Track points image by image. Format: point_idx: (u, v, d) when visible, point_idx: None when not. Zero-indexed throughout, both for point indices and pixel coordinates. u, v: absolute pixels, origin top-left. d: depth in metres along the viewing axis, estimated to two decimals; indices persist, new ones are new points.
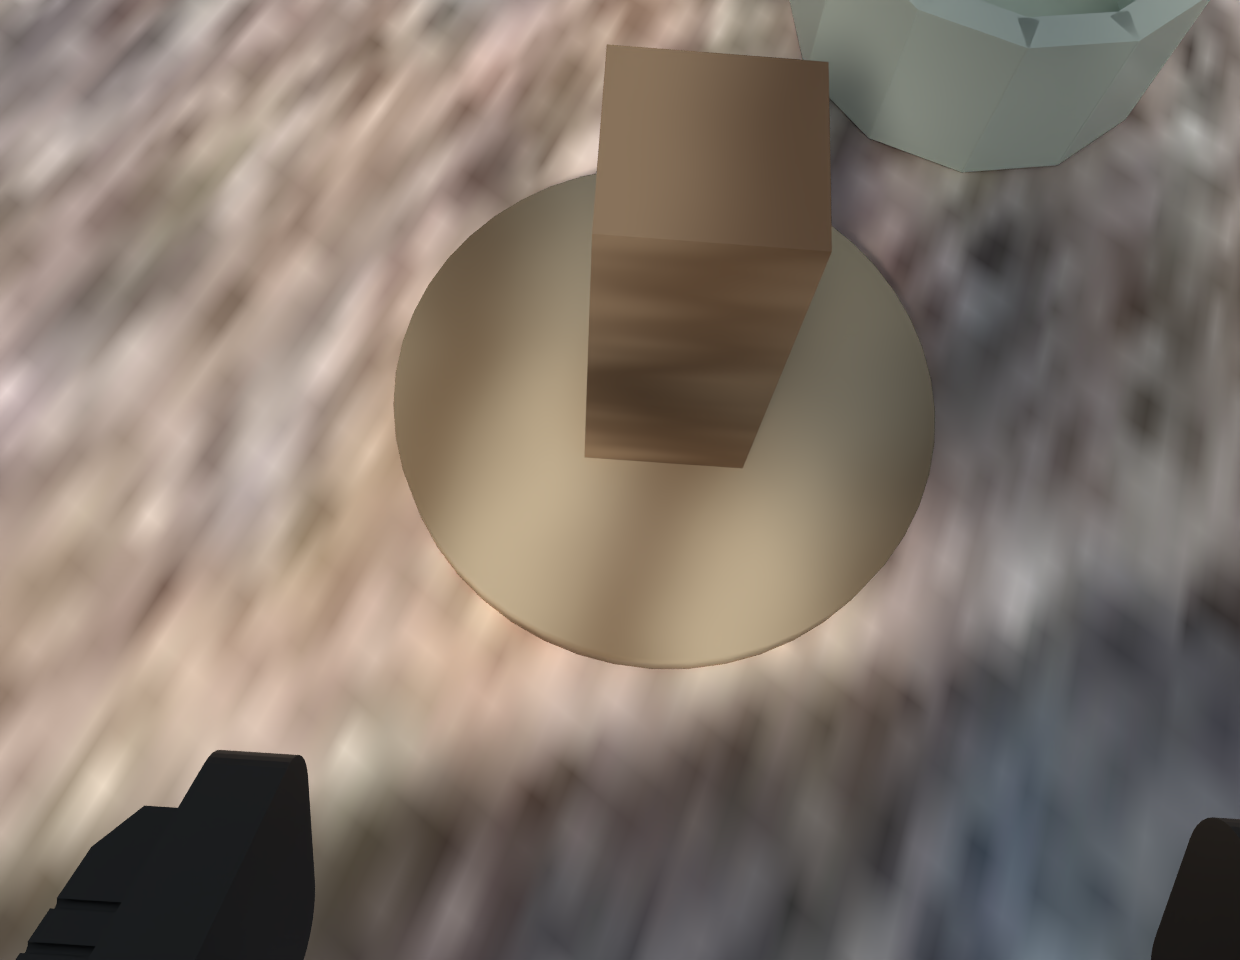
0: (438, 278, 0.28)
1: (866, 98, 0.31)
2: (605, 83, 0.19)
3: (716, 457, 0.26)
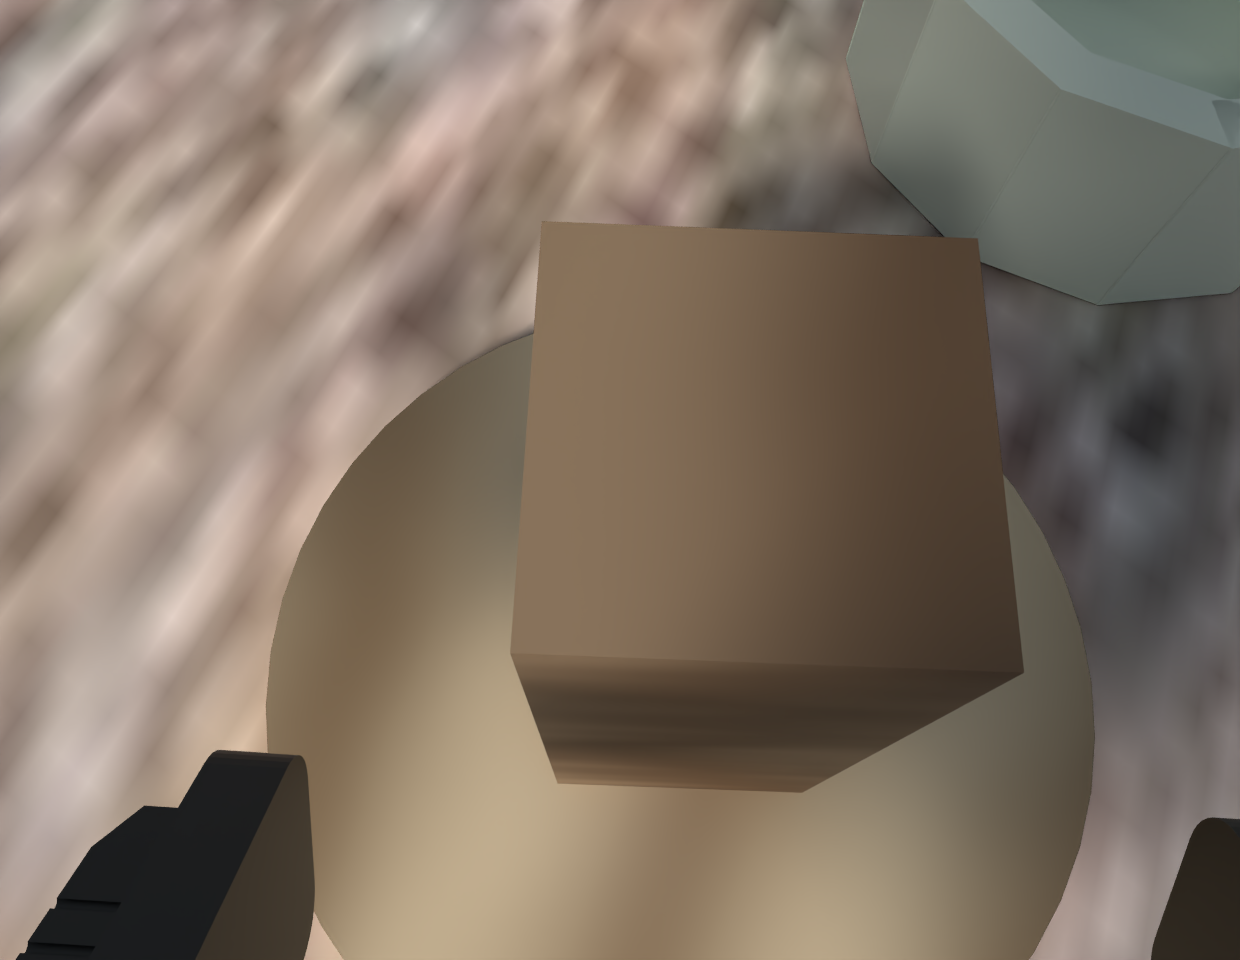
0: (337, 495, 0.19)
1: (963, 204, 0.22)
2: (538, 304, 0.09)
3: (762, 787, 0.17)
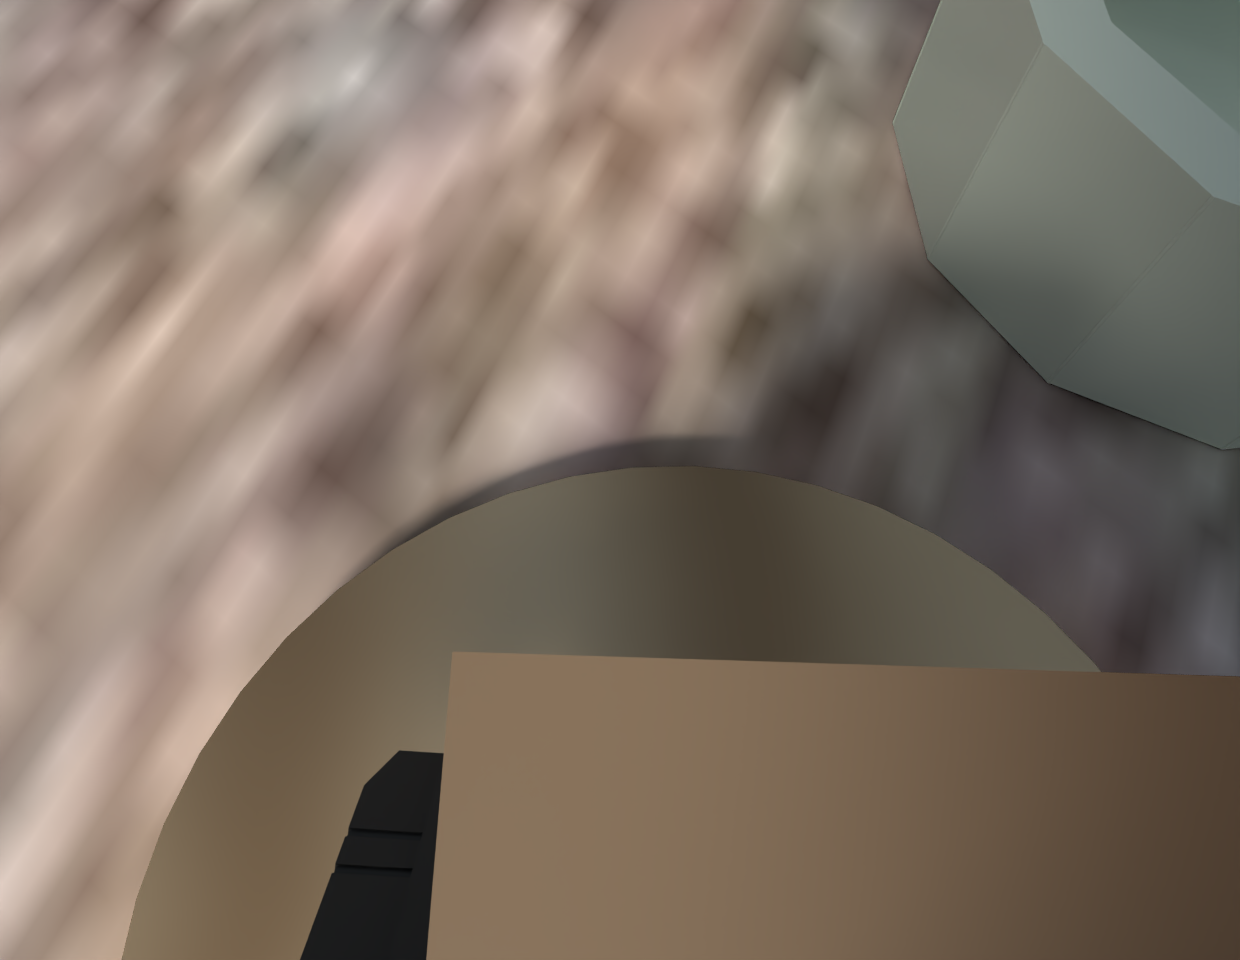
0: (218, 739, 0.14)
1: (1053, 323, 0.17)
2: (441, 866, 0.04)
3: None
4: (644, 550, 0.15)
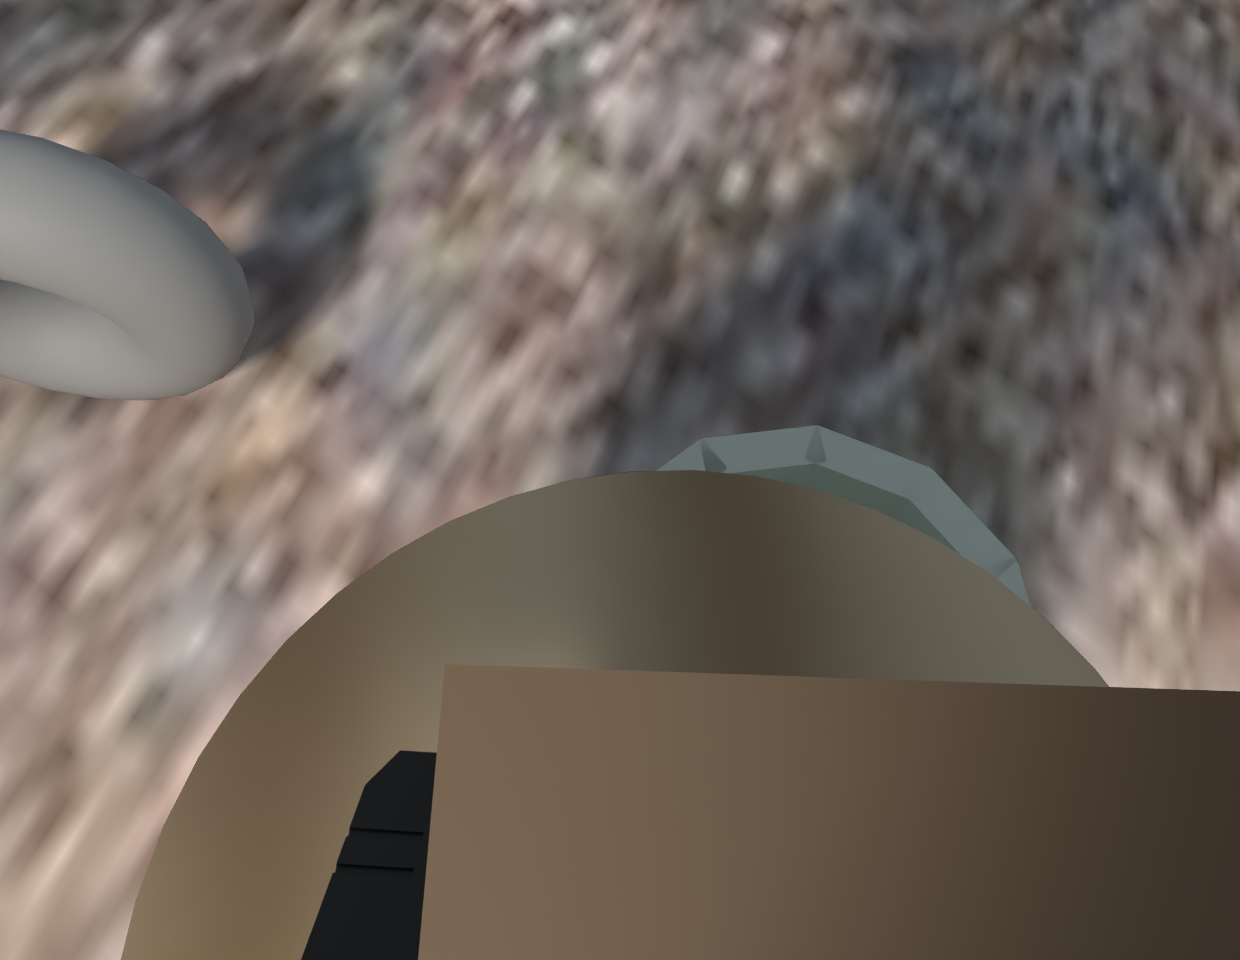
0: (218, 742, 0.14)
1: None
2: (432, 881, 0.04)
3: None
4: (644, 554, 0.15)
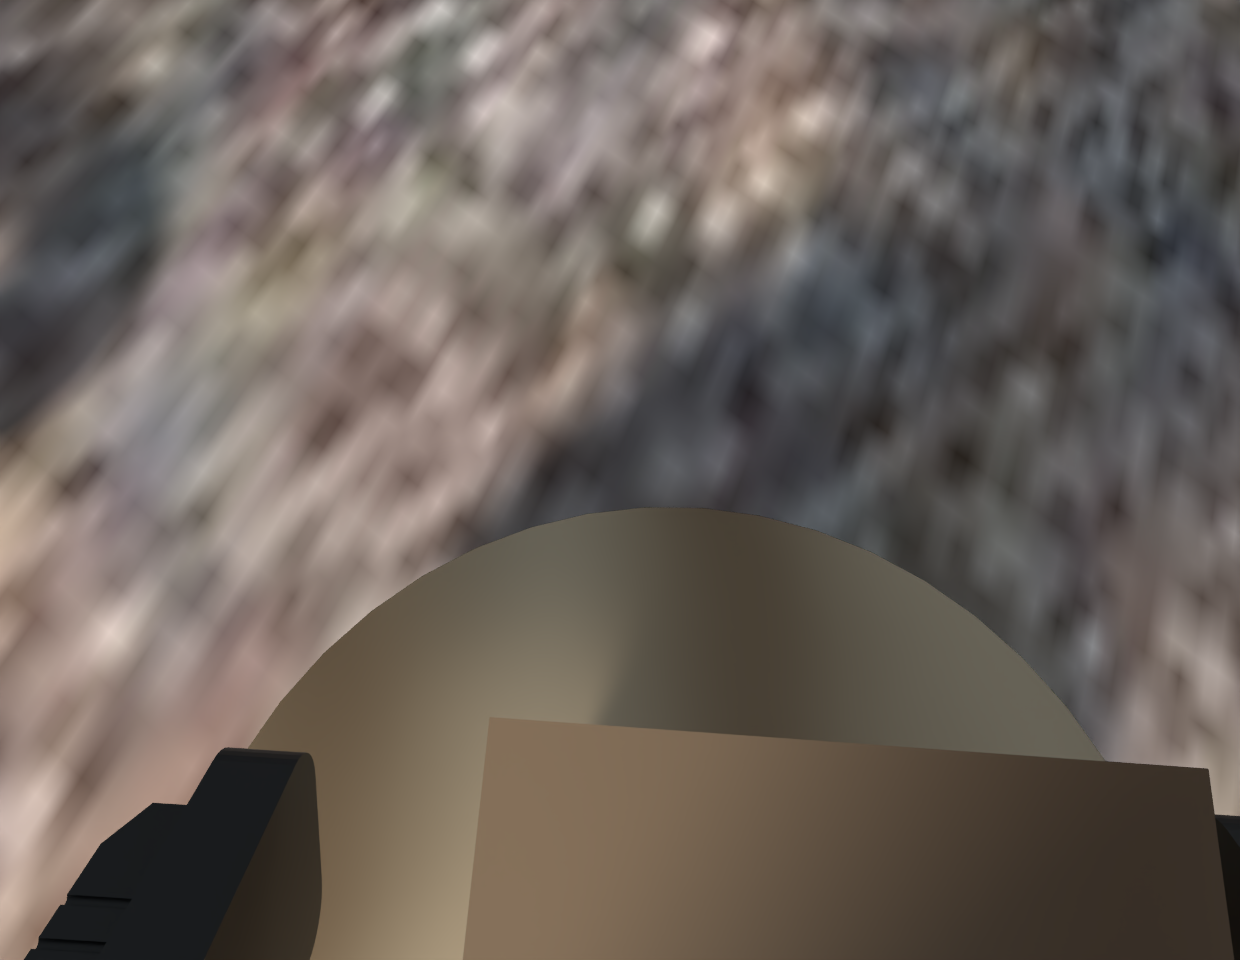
0: (259, 744, 0.15)
1: None
2: (476, 885, 0.06)
3: None
4: (653, 585, 0.16)
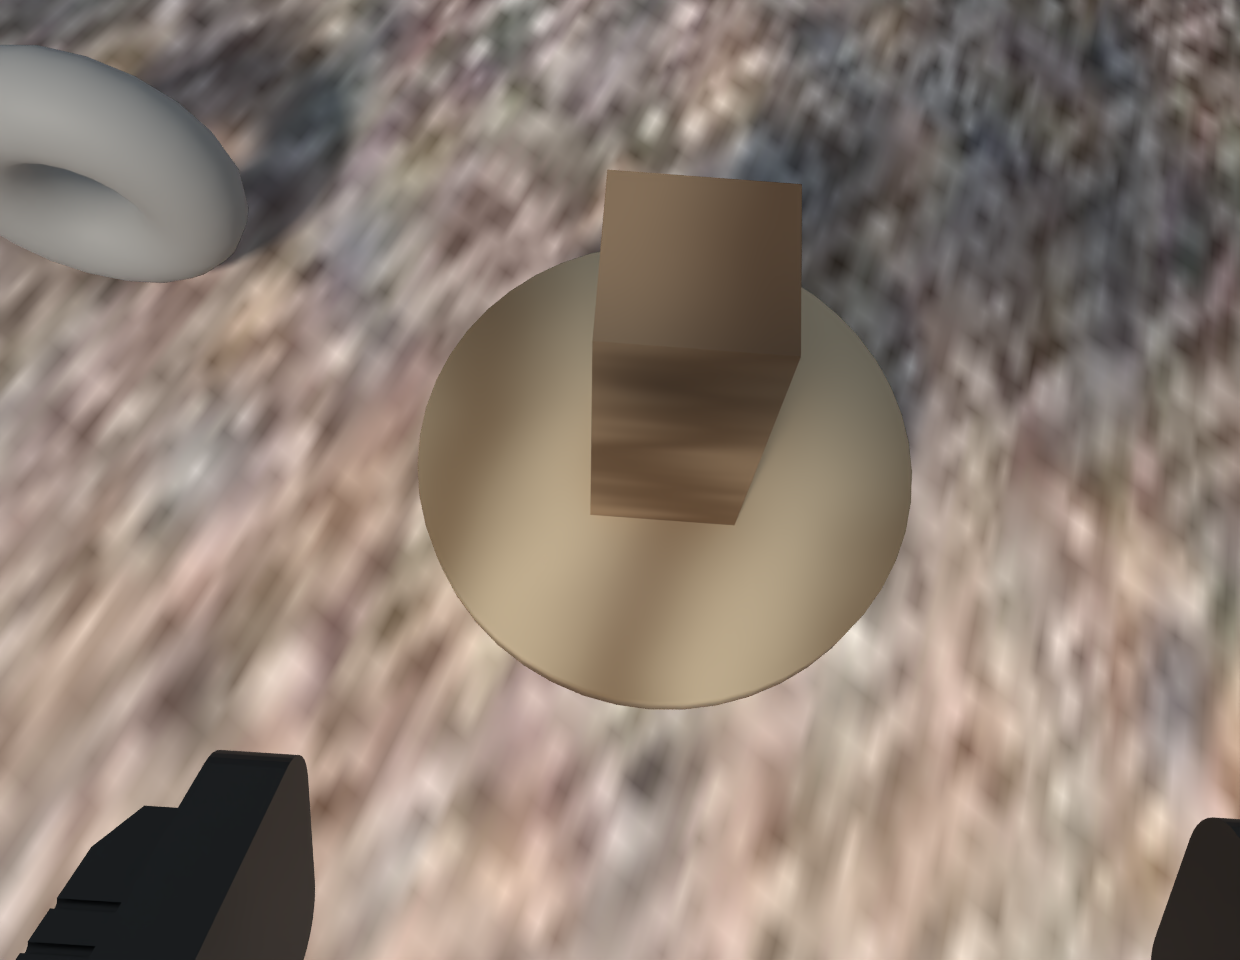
0: (458, 348, 0.31)
1: None
2: (605, 205, 0.21)
3: (710, 516, 0.29)
4: None
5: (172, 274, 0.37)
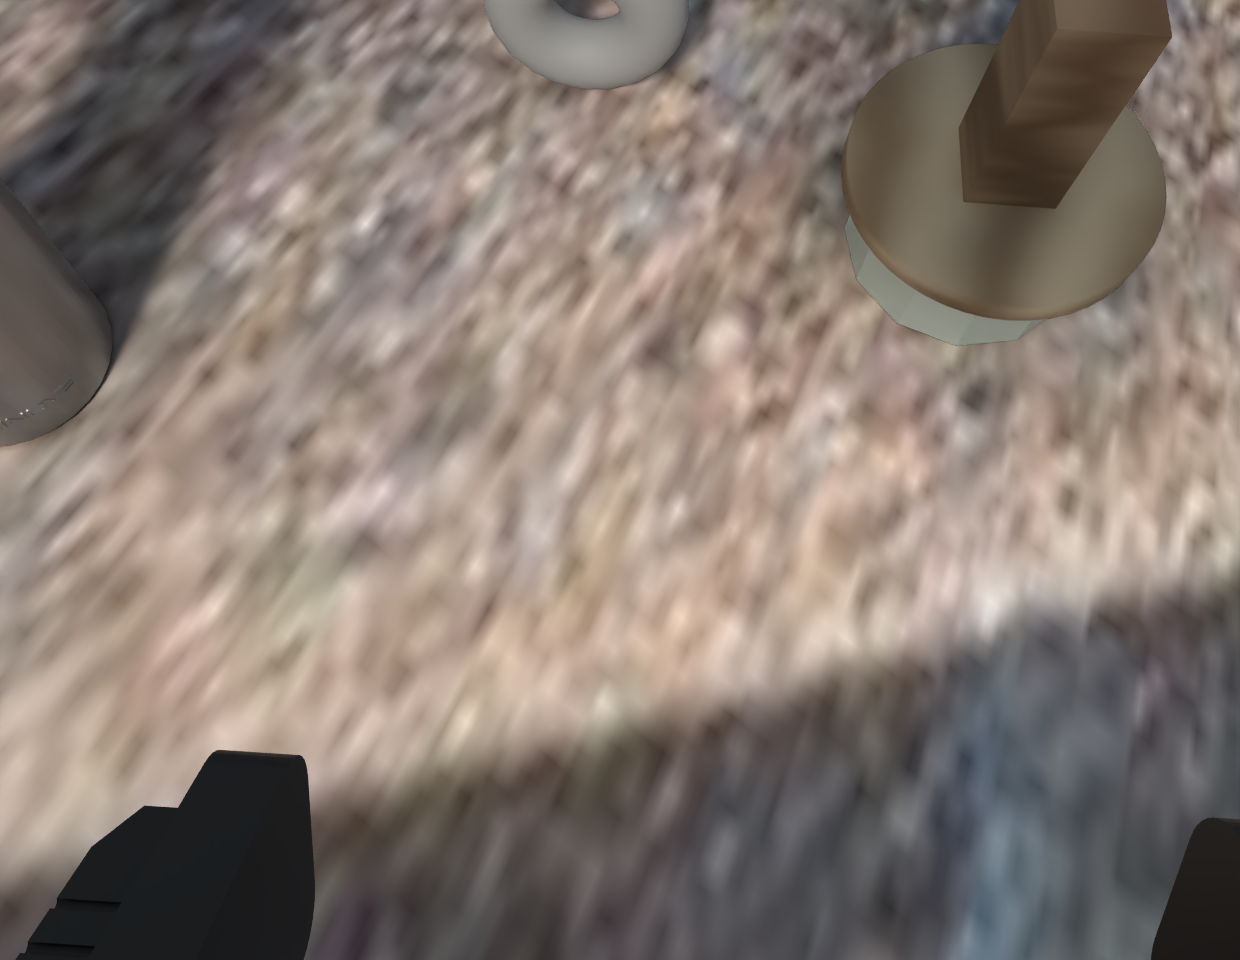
0: (863, 105, 0.48)
1: (895, 301, 0.50)
2: None
3: (1044, 199, 0.45)
4: (982, 65, 0.49)
5: (623, 79, 0.53)
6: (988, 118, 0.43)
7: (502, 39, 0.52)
